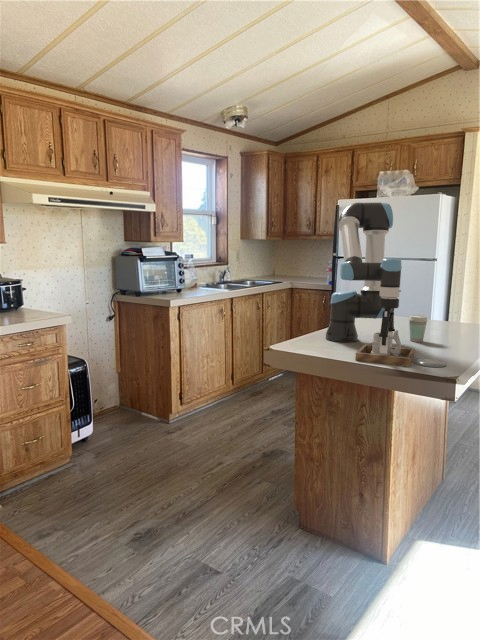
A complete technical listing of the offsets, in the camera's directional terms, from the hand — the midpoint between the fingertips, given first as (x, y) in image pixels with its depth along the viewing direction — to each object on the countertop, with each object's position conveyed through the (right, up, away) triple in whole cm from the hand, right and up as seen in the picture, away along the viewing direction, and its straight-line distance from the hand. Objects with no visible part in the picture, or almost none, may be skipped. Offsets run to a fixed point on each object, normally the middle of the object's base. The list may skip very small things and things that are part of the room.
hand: (386, 350), depth 193 cm
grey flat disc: (+15, -5, -7) cm, 17 cm away
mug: (0, -4, +1) cm, 4 cm away
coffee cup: (+25, +2, +36) cm, 44 cm away
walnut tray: (0, -3, +1) cm, 3 cm away
